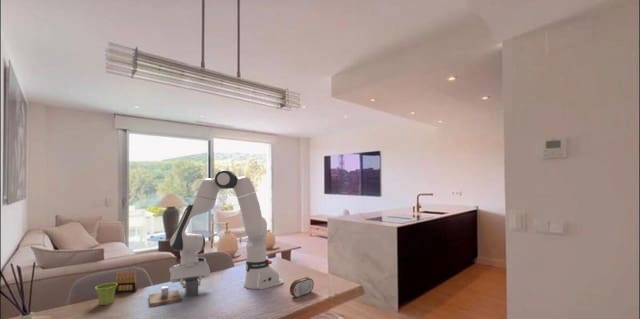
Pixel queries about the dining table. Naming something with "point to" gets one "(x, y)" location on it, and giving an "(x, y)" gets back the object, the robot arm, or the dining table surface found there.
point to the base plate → (158, 300)
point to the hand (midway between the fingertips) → (191, 286)
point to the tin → (301, 287)
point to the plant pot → (106, 293)
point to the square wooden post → (164, 291)
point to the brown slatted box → (126, 282)
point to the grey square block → (191, 287)
